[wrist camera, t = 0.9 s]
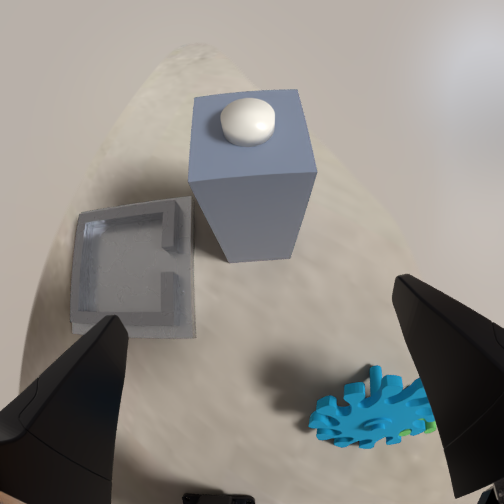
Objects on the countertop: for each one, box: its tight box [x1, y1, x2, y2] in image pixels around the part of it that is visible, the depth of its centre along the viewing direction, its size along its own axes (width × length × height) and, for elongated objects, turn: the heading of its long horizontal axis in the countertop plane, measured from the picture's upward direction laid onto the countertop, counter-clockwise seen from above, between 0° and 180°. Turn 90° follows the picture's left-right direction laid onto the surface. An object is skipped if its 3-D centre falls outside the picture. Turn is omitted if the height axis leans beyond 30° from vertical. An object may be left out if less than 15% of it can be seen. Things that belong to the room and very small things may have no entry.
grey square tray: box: [70, 196, 196, 338], centre depth 22 cm, size 12×12×2 cm
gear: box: [308, 365, 436, 449], centre depth 17 cm, size 11×6×10 cm
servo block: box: [188, 89, 317, 263], centre depth 17 cm, size 5×5×14 cm
